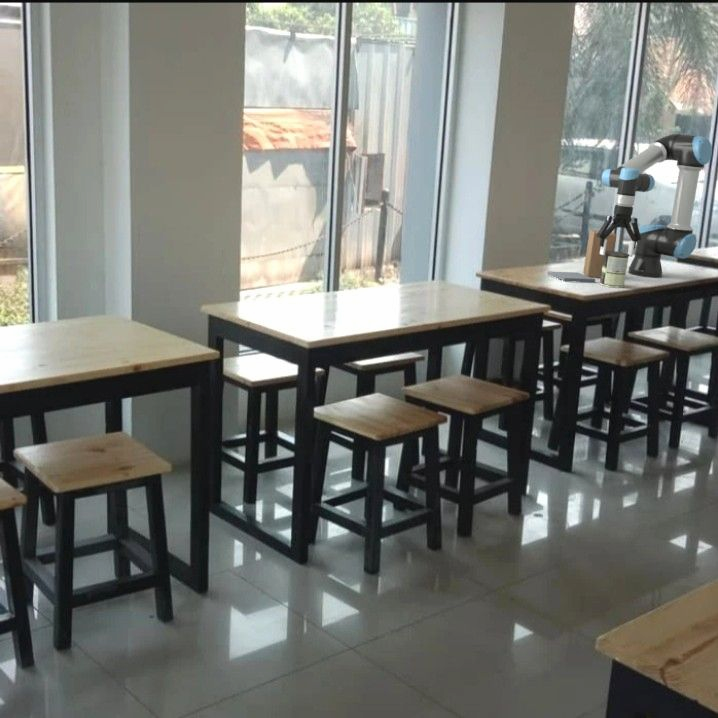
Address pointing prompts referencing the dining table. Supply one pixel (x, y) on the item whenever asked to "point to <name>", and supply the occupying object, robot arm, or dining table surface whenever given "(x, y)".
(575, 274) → the grey mat
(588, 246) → the wooden block
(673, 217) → the robot arm
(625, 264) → the coffee can
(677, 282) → the dining table surface
